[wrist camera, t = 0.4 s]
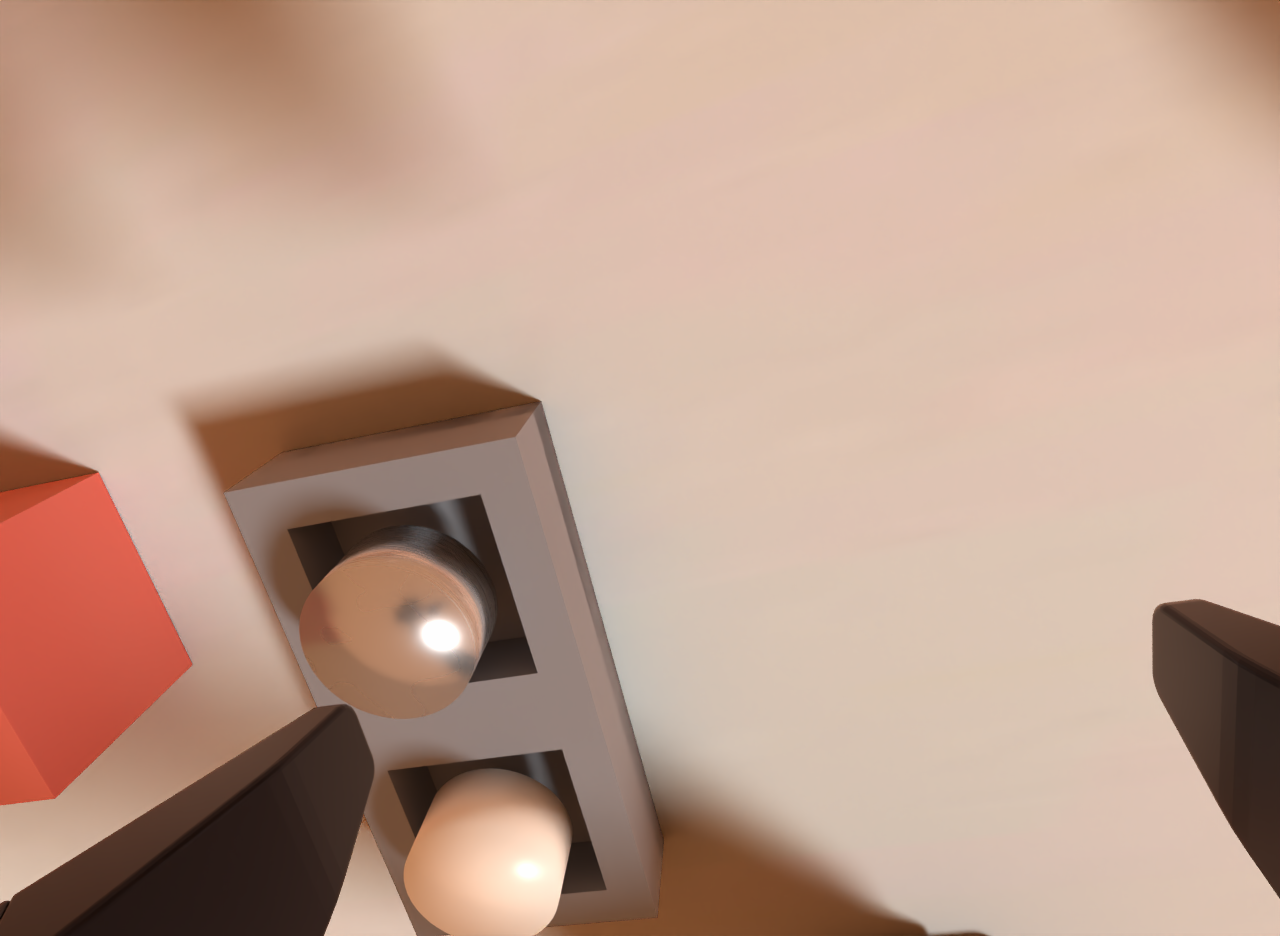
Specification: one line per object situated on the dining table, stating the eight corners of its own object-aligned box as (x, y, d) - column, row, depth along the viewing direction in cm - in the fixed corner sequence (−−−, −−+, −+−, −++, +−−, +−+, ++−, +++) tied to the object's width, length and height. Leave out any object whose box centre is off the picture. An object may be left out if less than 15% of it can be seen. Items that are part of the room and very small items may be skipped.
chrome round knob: (517, 656, 22) (496, 707, 20) (370, 677, 23) (336, 728, 21) (469, 512, 21) (442, 551, 19) (315, 539, 22) (272, 580, 19)
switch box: (663, 840, 28) (657, 917, 25) (439, 863, 29) (409, 938, 26) (541, 401, 22) (515, 437, 20) (272, 454, 24) (213, 494, 21)
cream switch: (588, 873, 25) (576, 938, 23) (454, 886, 26) (431, 949, 24) (551, 760, 23) (535, 818, 21) (410, 777, 24) (381, 834, 22)
